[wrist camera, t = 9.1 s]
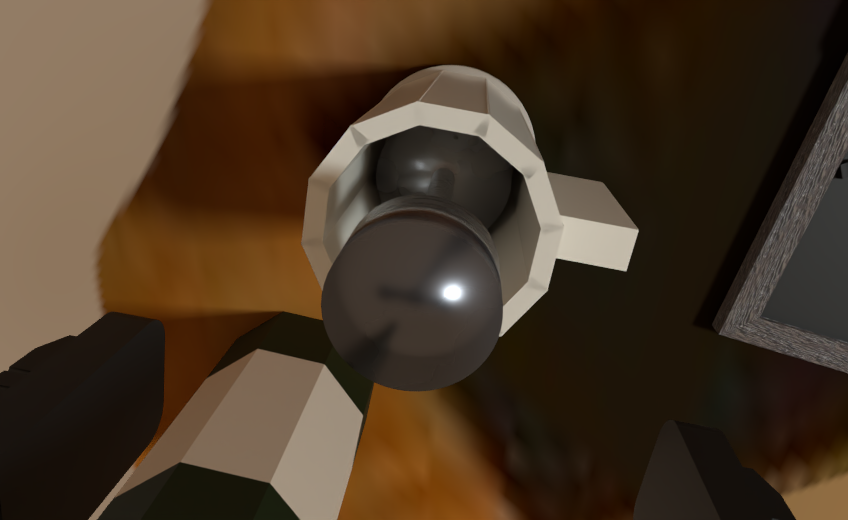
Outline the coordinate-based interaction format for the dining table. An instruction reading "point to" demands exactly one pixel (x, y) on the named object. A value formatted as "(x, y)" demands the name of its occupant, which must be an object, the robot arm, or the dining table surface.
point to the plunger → (422, 264)
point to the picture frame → (801, 251)
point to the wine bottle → (258, 435)
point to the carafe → (528, 200)
